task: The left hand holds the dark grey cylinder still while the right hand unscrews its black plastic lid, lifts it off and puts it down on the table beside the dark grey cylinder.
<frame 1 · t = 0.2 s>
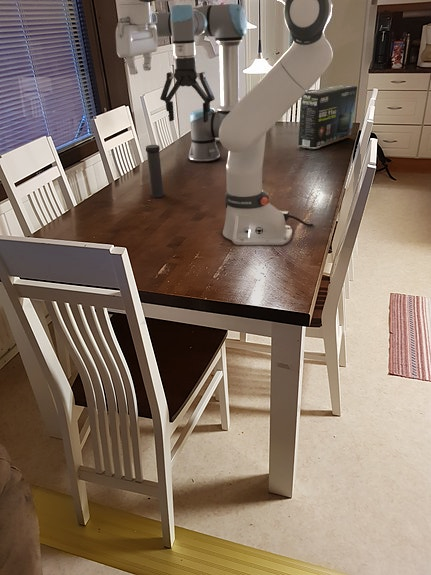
left hand: (188, 121, 169), 28 cm above the table, tool pointing down, fingers open, 13 cm apart
right hand: (140, 72, 133), 48 cm above the table, tool pointing down, fingers open, 8 cm apart
router box: (325, 143, 245), on the table
lid: (152, 147, 174), point 19 cm above the table, screwed on, not yet turned
dark grey cylinder: (157, 195, 183), on the table
fossil: (227, 141, 256), on the table
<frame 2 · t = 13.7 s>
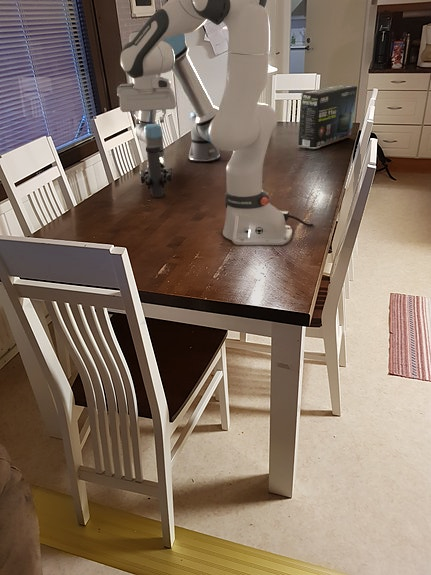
left hand: (156, 185, 176), 6 cm above the table, tool horizontal, fingers closed on dark grey cylinder, 5 cm apart
right hand: (150, 123, 169), 28 cm above the table, tool pointing down, fingers open, 7 cm apart
dark grey cylinder: (157, 195, 183), on the table, touching left hand
everything else where it was.
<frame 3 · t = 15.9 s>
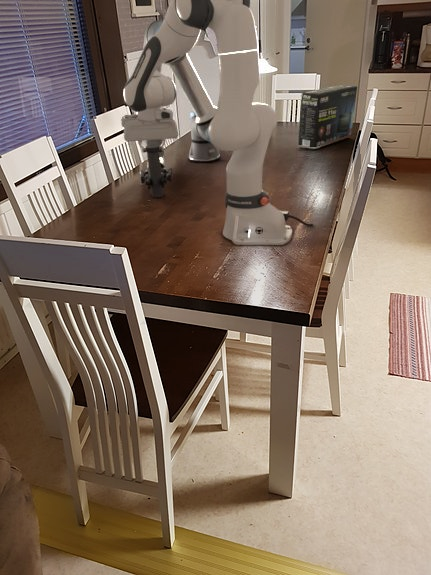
left hand: (155, 185, 176), 6 cm above the table, tool horizontal, fingers closed on dark grey cylinder, 5 cm apart
right hand: (153, 151, 174), 17 cm above the table, tool pointing down, fingers closed on lid, 5 cm apart
lid: (152, 147, 174), point 19 cm above the table, screwed on, not yet turned, touching right hand
dark grey cylinder: (157, 195, 183), on the table, touching left hand
everything else where it was.
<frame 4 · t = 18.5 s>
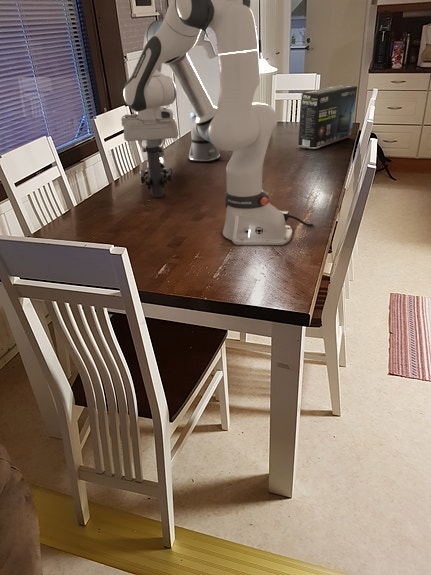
left hand: (156, 185, 176), 6 cm above the table, tool horizontal, fingers closed on dark grey cylinder, 5 cm apart
right hand: (153, 151, 174), 18 cm above the table, tool pointing down, fingers closed on lid, 5 cm apart
lid: (152, 146, 174), point 19 cm above the table, turned 56° so far, risen 0.1 cm, still on its thread, touching right hand
dark grey cylinder: (157, 195, 183), on the table, touching left hand
everything else where it was.
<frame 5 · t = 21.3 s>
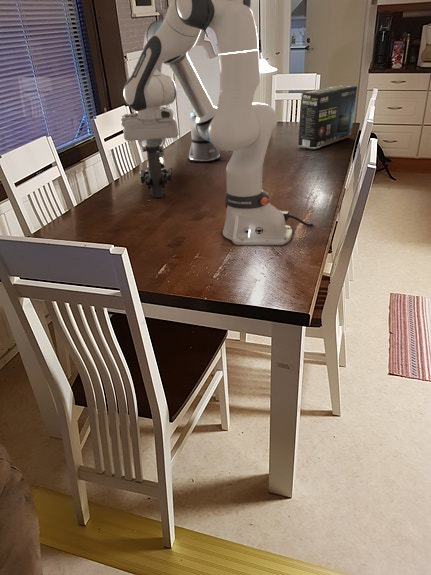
left hand: (156, 185, 176), 6 cm above the table, tool horizontal, fingers closed on dark grey cylinder, 5 cm apart
right hand: (153, 150, 174), 18 cm above the table, tool pointing down, fingers closed on lid, 5 cm apart
lid: (152, 146, 173), point 19 cm above the table, turned 112° so far, risen 0.3 cm, still on its thread, touching right hand
dark grey cylinder: (157, 195, 183), on the table, touching left hand
everything else where it was.
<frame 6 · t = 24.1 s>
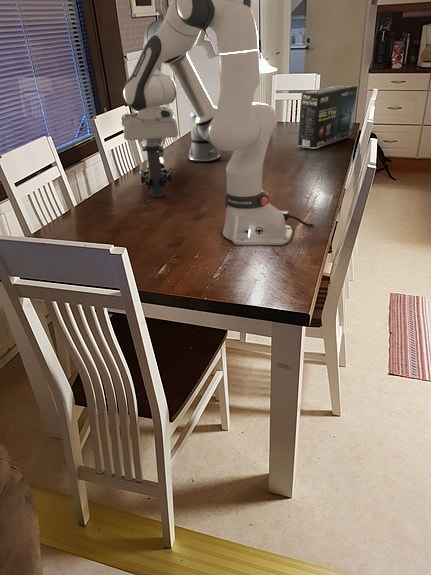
left hand: (156, 185, 176), 6 cm above the table, tool horizontal, fingers closed on dark grey cylinder, 5 cm apart
right hand: (153, 150, 174), 18 cm above the table, tool pointing down, fingers closed on lid, 5 cm apart
lid: (152, 146, 173), point 20 cm above the table, turned 168° so far, risen 0.4 cm, still on its thread, touching right hand
dark grey cylinder: (157, 195, 183), on the table, touching left hand
everything else where it was.
when the right hand's fingers open (2 cm above the table, at t = 31.2 s): lid drops 2 cm, point 1 cm above the table.
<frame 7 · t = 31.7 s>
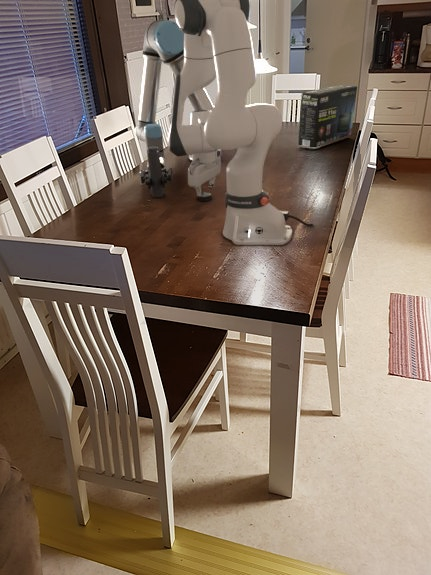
left hand: (156, 185, 176), 6 cm above the table, tool horizontal, fingers closed on dark grey cylinder, 5 cm apart
right hand: (205, 191, 177), 3 cm above the table, tool pointing down, fingers open, 8 cm apart
lid: (204, 195, 178), point 1 cm above the table, off its thread
dark grey cylinder: (157, 195, 183), on the table, touching left hand
everything else where it was.
when the left hand's fingers open (6 cm above the table, at t = 32.1 s): dark grey cylinder stays where it is, on the table.
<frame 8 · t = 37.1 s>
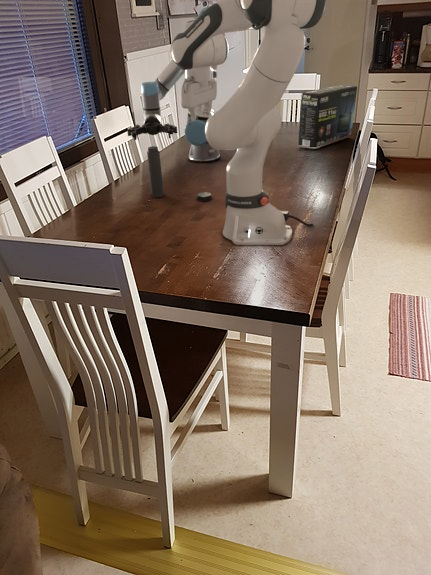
left hand: (152, 135, 181), 21 cm above the table, tool horizontal, fingers open, 13 cm apart
right hand: (200, 117, 163), 30 cm above the table, tool pointing down, fingers open, 8 cm apart
dark grey cylinder: (157, 195, 183), on the table
everything else where it was.
at the end: lid came off its thread; lid point 1.4 cm above the table; the left hand is holding nothing; the right hand is holding nothing; dark grey cylinder tilted 0°; dark grey cylinder moved 0.1 cm from its start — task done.
